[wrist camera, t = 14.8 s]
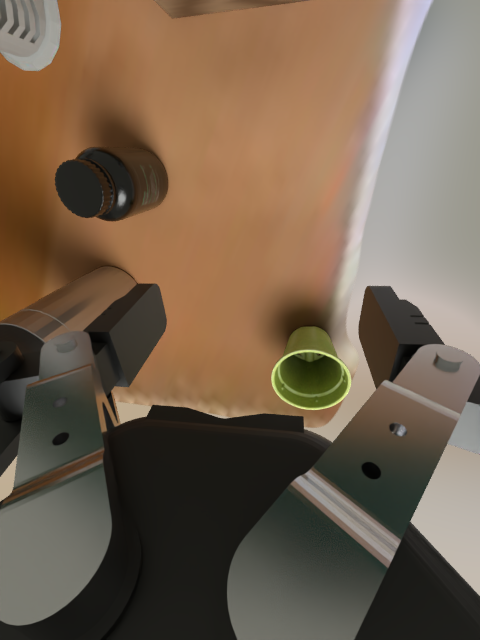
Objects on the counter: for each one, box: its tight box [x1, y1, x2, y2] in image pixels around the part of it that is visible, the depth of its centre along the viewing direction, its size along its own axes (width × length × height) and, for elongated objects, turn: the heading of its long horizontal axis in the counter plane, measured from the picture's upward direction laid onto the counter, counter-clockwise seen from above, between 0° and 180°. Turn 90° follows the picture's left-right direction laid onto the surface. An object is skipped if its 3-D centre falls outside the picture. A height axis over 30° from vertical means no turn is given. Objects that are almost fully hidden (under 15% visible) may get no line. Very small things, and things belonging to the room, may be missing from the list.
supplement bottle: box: [55, 147, 168, 221], centre depth 31 cm, size 7×7×12 cm
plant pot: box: [271, 326, 351, 410], centre depth 39 cm, size 9×9×9 cm
